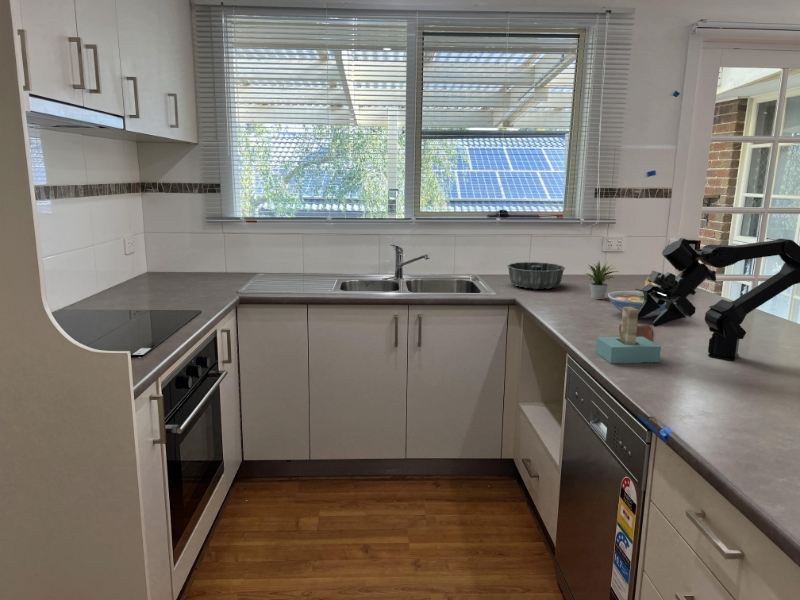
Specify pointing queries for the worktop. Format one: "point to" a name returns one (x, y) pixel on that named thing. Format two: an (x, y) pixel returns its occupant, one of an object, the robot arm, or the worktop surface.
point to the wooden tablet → (642, 332)
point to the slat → (629, 326)
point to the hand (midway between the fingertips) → (644, 321)
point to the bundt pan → (535, 274)
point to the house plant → (599, 281)
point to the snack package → (649, 283)
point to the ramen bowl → (631, 301)
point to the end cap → (628, 350)
